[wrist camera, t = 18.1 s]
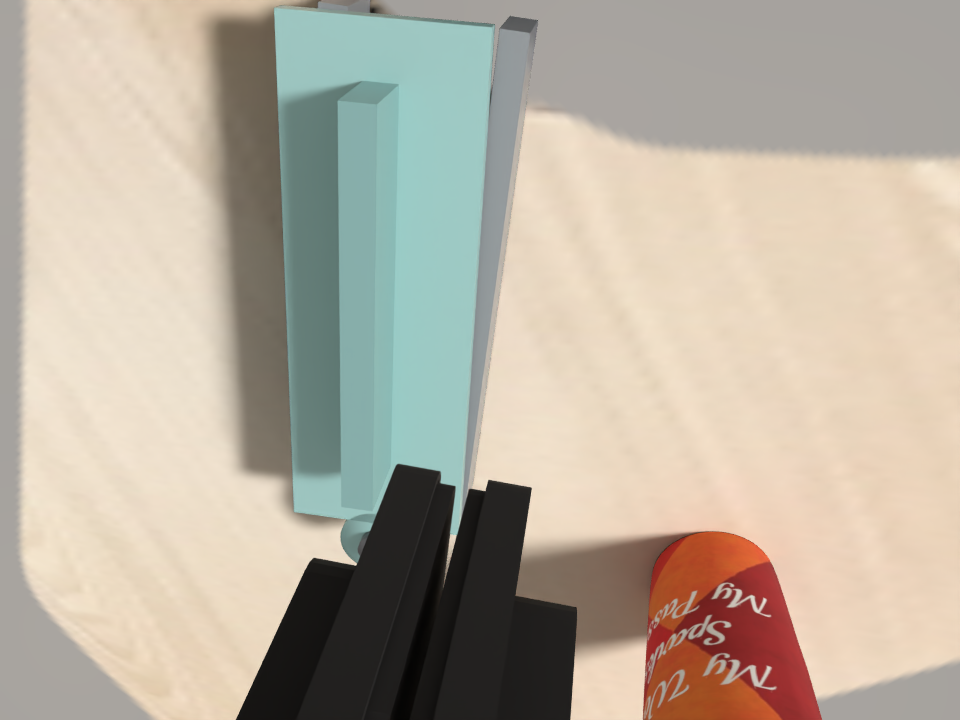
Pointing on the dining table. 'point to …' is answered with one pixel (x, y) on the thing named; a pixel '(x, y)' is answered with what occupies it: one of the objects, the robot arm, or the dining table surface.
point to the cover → (379, 249)
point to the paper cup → (722, 637)
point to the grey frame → (490, 199)
